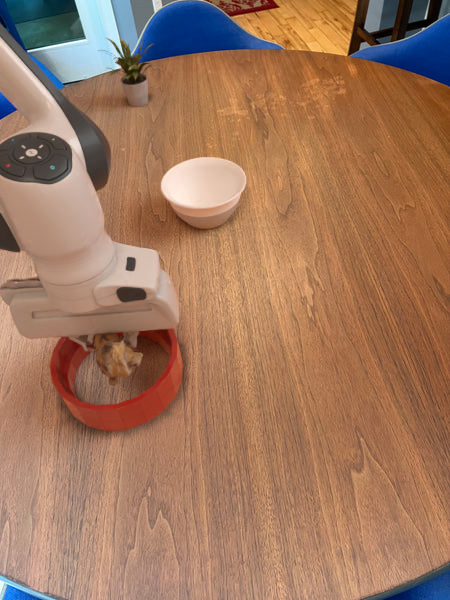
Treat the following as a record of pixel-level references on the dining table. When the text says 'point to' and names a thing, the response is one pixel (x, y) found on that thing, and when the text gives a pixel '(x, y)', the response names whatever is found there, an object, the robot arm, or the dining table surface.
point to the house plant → (132, 75)
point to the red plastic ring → (127, 412)
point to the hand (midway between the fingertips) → (111, 345)
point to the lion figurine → (115, 357)
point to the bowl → (204, 190)
